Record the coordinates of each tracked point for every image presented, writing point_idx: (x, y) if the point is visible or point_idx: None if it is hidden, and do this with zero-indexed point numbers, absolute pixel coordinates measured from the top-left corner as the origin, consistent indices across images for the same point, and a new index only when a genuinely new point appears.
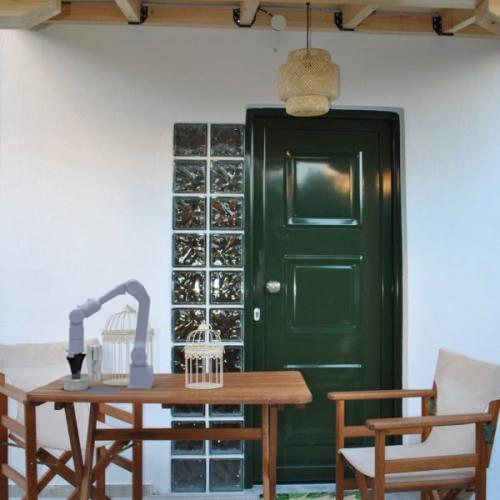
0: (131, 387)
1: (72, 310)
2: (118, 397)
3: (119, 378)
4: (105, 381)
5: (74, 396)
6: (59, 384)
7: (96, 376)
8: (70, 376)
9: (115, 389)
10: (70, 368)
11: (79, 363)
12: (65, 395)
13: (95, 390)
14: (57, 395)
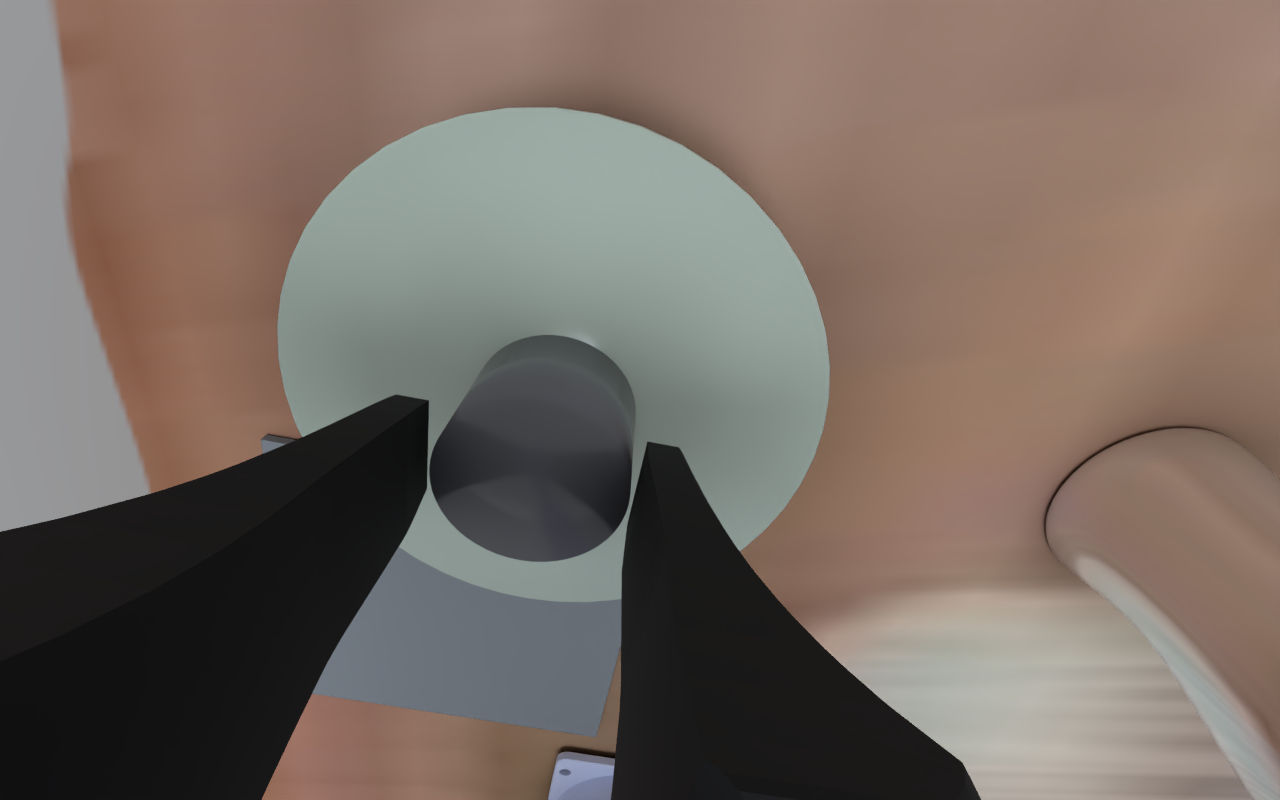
0: (552, 781)
1: None
2: None
3: (1134, 709)
4: (1016, 608)
5: (119, 360)
6: (1073, 6)
7: (1096, 578)
8: (766, 294)
9: (494, 689)
10: (303, 439)
11: (632, 665)
12: (145, 242)
13: None
14: (111, 121)
